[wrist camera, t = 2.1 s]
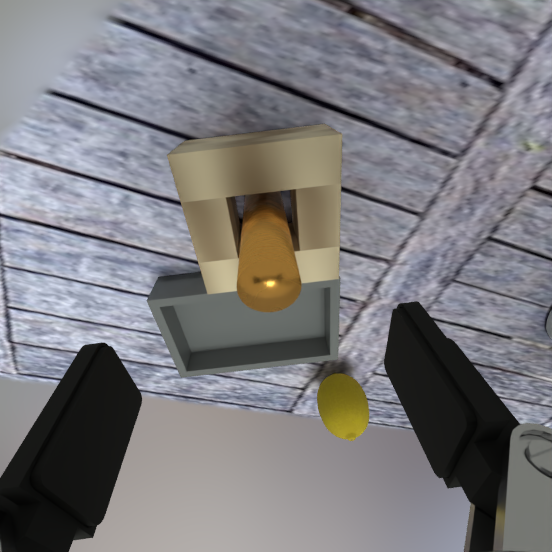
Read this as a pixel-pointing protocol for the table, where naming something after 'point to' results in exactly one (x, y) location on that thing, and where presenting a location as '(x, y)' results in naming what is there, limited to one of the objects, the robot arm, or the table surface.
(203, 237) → the pin block
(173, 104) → the table surface
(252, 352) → the tray
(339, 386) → the lemon
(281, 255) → the pin
